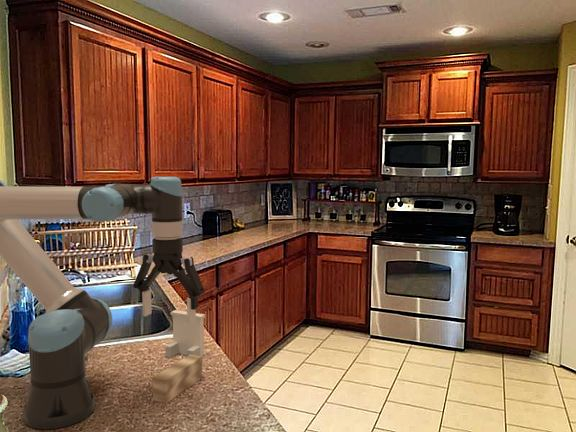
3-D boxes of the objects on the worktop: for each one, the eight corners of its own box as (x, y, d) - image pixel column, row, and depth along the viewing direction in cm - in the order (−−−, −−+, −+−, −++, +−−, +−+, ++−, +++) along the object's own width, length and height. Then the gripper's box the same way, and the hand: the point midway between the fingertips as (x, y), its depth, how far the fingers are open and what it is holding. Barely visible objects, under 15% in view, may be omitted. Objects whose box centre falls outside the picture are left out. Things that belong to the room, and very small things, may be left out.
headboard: (194, 362, 143) (193, 320, 141) (164, 356, 147) (163, 315, 146) (205, 355, 149) (205, 314, 147) (176, 349, 153) (175, 309, 151)
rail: (166, 403, 119) (165, 380, 118) (153, 400, 121) (152, 377, 120) (202, 377, 134) (202, 356, 133) (190, 374, 135) (190, 354, 135)
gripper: (217, 238, 121) (218, 319, 124) (136, 232, 130) (138, 308, 133) (202, 242, 114) (203, 328, 117) (117, 236, 123) (120, 316, 126)
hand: (168, 318), depth 125 cm, fingers open, 13 cm apart
